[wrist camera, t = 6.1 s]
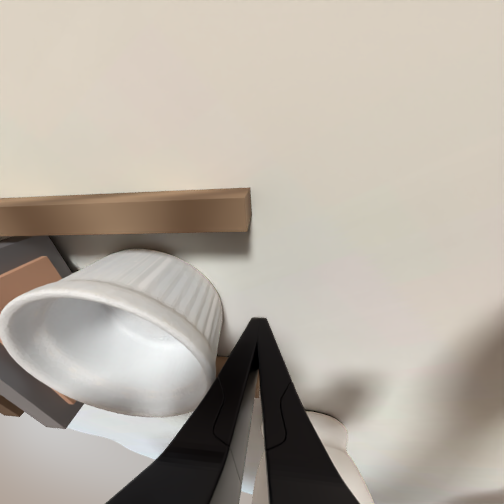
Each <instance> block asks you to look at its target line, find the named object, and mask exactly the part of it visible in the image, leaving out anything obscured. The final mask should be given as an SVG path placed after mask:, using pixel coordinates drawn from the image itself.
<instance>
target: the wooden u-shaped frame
mask: <svg viewBox="0 0 504 504" xmlns="http://www.w3.org/2000/svg"><path fill="white" fill-rule="evenodd" d="M251 216H252V212H251V194H250V188H231V189H208V190H185V191H161V192H138V193H115V194H92V195H69V196H46V197H23V198H0V236H44V235H95V234H145V233H196V232H246V231H247V230H248V227H249V223H250V219H251ZM227 359H228V357H220V356H216V362H215V363H216V377H218V374H219V372H220V371H221V369H222V367H223V366H224V364H225V362H226V361H227ZM259 386H260V380H259V369H258V376H257V383H256V390H255V397H254V398H259ZM0 413H1V414H3V415H6V416H17V417H20V416H21V415H22V414H23V413H24V411H23V410H22V409H20V408H19V407H17V406H16V405H15V404H13V403H12V402H10V401H9V400H7V399H6V398H5V397H3V396H2V395H0Z"/></svg>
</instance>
